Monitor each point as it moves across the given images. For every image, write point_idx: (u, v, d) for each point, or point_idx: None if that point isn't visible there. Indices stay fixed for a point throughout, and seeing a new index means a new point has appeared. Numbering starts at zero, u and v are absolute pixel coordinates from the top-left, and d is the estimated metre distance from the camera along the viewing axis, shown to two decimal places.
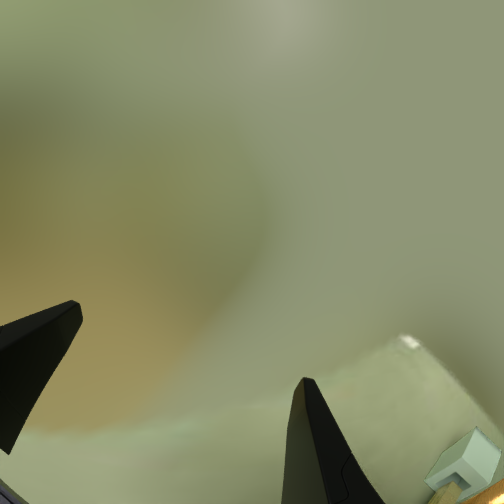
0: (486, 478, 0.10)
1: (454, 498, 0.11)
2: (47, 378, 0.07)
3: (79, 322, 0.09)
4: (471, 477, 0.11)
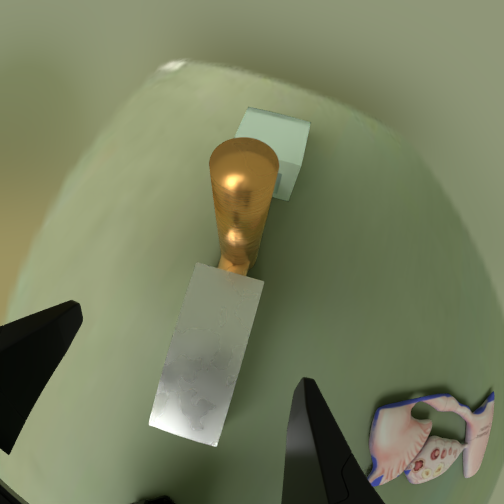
0: (290, 160, 0.21)
1: None
2: (47, 378, 0.07)
3: (79, 322, 0.09)
4: None
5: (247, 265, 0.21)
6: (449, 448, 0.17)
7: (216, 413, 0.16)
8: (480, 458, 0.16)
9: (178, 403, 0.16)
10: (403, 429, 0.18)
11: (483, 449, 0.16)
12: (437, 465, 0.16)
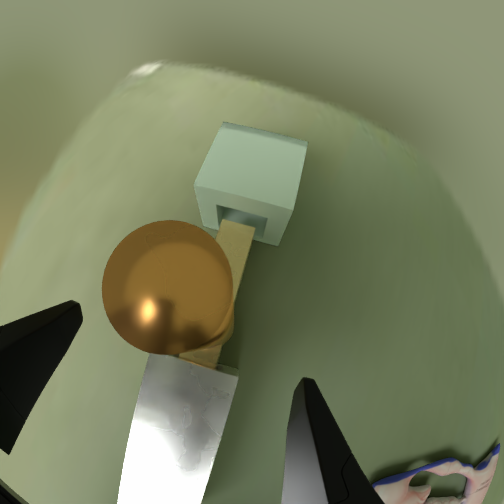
0: (278, 201, 0.16)
1: (240, 249, 0.17)
2: (47, 378, 0.07)
3: (79, 322, 0.09)
4: (249, 207, 0.16)
5: (218, 349, 0.15)
6: None
7: None
8: None
9: (145, 496, 0.10)
10: (399, 502, 0.12)
11: (481, 500, 0.10)
12: None
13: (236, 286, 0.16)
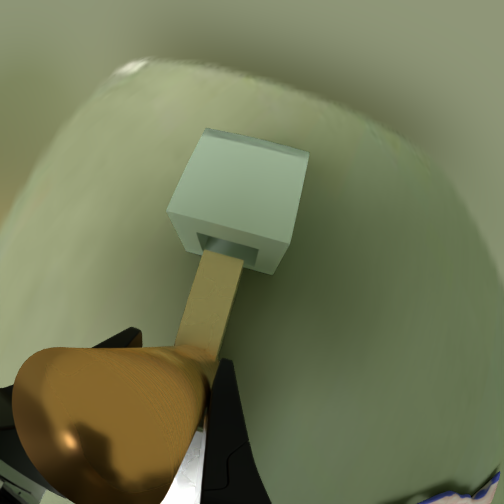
0: (271, 232, 0.12)
1: (226, 287, 0.14)
2: None
3: None
4: (235, 237, 0.13)
5: None
6: None
7: None
8: None
9: None
10: None
11: None
12: None
13: (220, 333, 0.13)
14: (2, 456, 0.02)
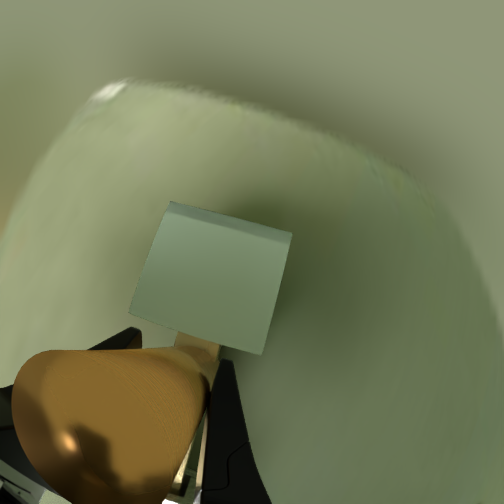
0: (241, 343, 0.11)
1: None
2: None
3: None
4: None
5: None
6: None
7: None
8: None
9: None
10: None
11: None
12: None
13: None
14: (1, 456, 0.02)
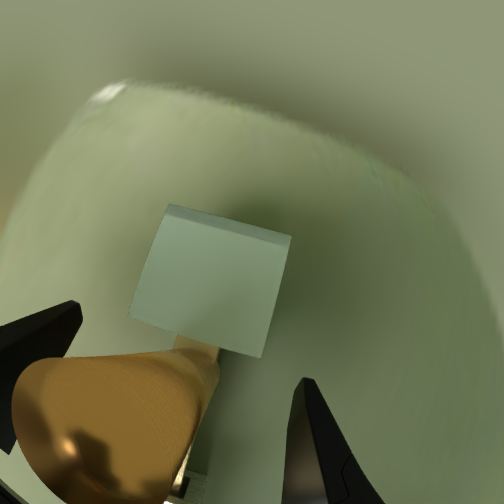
0: (240, 346, 0.11)
1: None
2: None
3: (79, 322, 0.09)
4: None
5: None
6: None
7: None
8: None
9: None
10: None
11: None
12: None
13: None
14: None
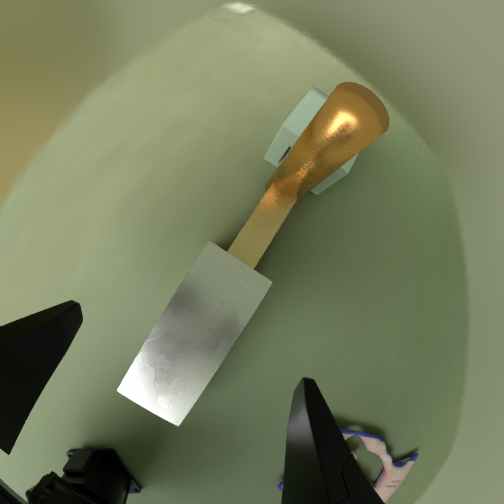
0: None
1: None
2: (47, 378, 0.07)
3: (79, 322, 0.09)
4: None
5: (294, 201, 0.20)
6: None
7: (187, 396, 0.16)
8: None
9: (152, 379, 0.16)
10: None
11: (385, 499, 0.21)
12: None
13: None
14: None
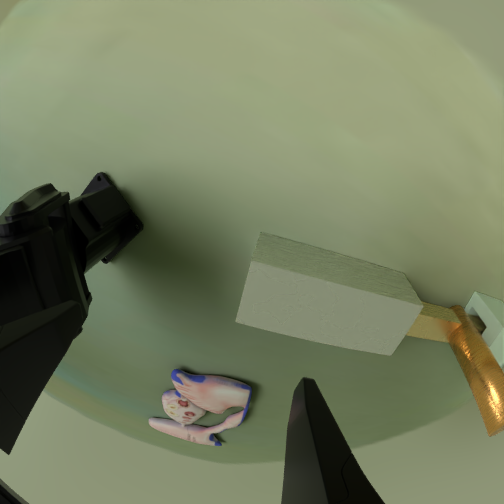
0: None
1: None
2: (47, 378, 0.07)
3: (79, 322, 0.09)
4: None
5: (447, 341, 0.19)
6: (189, 420, 0.32)
7: (274, 324, 0.18)
8: (165, 432, 0.36)
9: (283, 294, 0.17)
10: (225, 403, 0.28)
11: (173, 435, 0.35)
12: (177, 413, 0.31)
13: None
14: None
